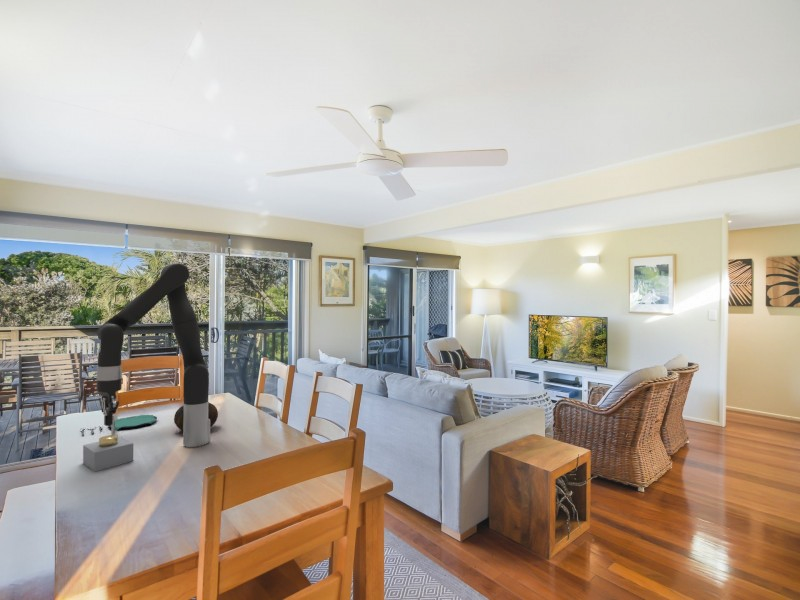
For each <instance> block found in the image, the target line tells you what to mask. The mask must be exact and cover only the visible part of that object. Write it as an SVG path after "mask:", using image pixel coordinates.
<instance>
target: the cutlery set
mask: <svg viewBox="0 0 800 600" xmlns="http://www.w3.org/2000/svg"><path fill="white" fill-rule="evenodd" d="M157 420H158V417H157V416H156V415H153V414H140V415H135V416H129V417H122V418H117V419H114V421H115V430H117V431H118V430H119V429H129V428H135V427H141V426H145V425H149V424H150V425H151V424H154V423H155V422H156V421H157ZM108 427H109V428H111V425H109V426H108ZM85 429H86V428H85ZM85 429H84V428H83V430H82V431H81V436H82V437H84V436H85V431H84V430H85ZM98 429H100V430H99V431H101V429H102V430H103V427H102V428H100V427H99V428H98ZM94 434H95V432H94V429H93V430H91V435H94Z"/></svg>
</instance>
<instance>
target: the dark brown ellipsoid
mask: <svg viewBox="0 0 800 600" xmlns="http://www.w3.org/2000/svg"><path fill="white" fill-rule="evenodd" d="M218 417H219V411H218V409H217V407H216V406H215V405H214V404H213V403H211V402H210V401H208V419H210V429H211V428H212V427H213V426H214V425H215V424H216V422H217V421H218ZM183 419H184V404H183V405H181V406H180V407H179V408H178V409H177V410H176V411H175V414H174V416H173V421H174V424H175V426H176V428H178V430H180V431H182V432H183Z"/></svg>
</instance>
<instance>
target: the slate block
mask: <svg viewBox="0 0 800 600" xmlns="http://www.w3.org/2000/svg"><path fill="white" fill-rule="evenodd" d="M82 449H83V450H82V454H83V456H82V457H83V458H82V463H83V464H84V465H85V466H86V467H88V468H89V469H90V470H92V471H93V472H97V471H101V470H105V469H108V468H113V467H116V466H120V465H122V464H126V463H130V461H131V462H133V461H134V443H133V441H132V442H131V441H130V440H128V439H126V438H124V437H123V436H118V443H117V444H116V445H113V446H109V447H99V441H96V442H92V443H91V442H90V443H87V444H83V445H82ZM119 464H120V465H119ZM115 465H116V466H115Z"/></svg>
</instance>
